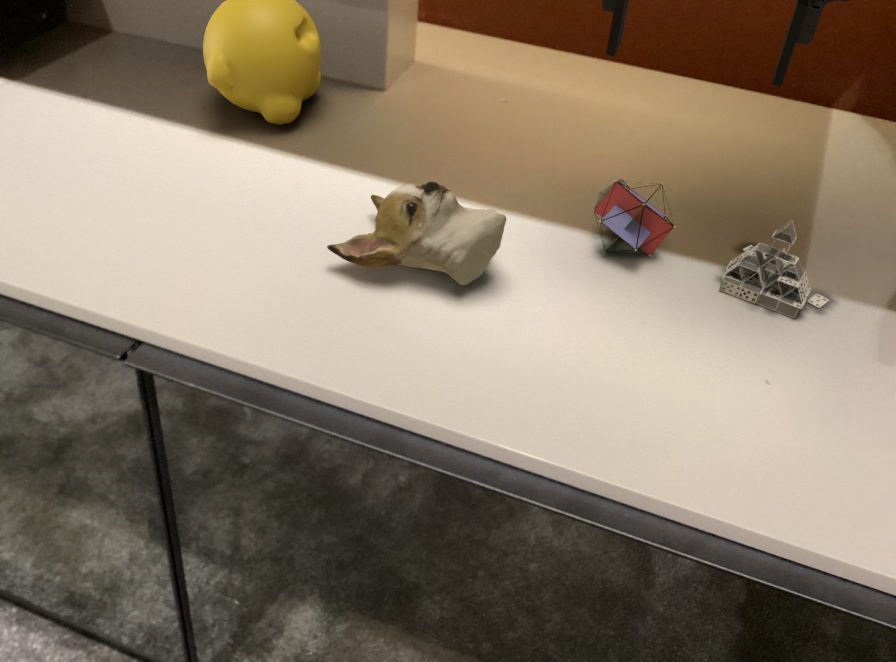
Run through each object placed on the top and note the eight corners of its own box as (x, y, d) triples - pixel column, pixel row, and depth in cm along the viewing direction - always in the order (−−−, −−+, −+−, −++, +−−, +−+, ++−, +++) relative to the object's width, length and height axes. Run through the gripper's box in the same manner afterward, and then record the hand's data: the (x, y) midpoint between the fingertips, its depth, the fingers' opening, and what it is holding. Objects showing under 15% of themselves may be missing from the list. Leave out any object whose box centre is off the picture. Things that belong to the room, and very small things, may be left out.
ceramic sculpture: (485, 233, 77) (318, 194, 82) (480, 318, 83) (325, 277, 88) (527, 169, 84) (372, 137, 89) (520, 252, 90) (375, 218, 95)
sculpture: (313, 134, 100) (260, 10, 92) (215, 154, 106) (156, 39, 98) (359, 69, 110) (314, -48, 103) (267, 90, 116) (218, -19, 108)
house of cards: (841, 277, 89) (873, 207, 83) (814, 328, 83) (847, 257, 78) (745, 243, 92) (770, 174, 87) (714, 290, 87) (738, 219, 81)
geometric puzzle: (698, 230, 90) (666, 153, 87) (670, 266, 85) (635, 187, 83) (631, 246, 95) (599, 174, 92) (602, 281, 91) (567, 206, 88)
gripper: (576, -239, 66) (537, 55, 81) (969, -198, 60) (849, 112, 75) (599, -261, 71) (558, 20, 86) (964, -225, 65) (852, 71, 80)
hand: (693, 63), depth 80 cm, fingers open, 13 cm apart
